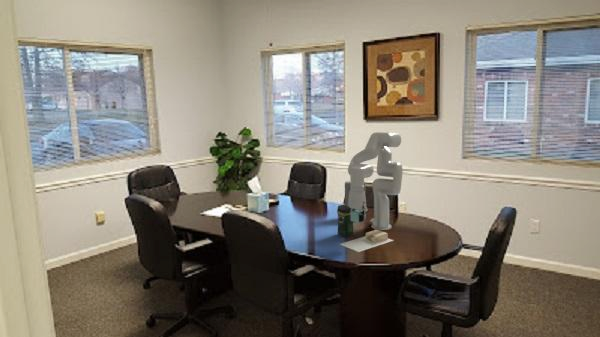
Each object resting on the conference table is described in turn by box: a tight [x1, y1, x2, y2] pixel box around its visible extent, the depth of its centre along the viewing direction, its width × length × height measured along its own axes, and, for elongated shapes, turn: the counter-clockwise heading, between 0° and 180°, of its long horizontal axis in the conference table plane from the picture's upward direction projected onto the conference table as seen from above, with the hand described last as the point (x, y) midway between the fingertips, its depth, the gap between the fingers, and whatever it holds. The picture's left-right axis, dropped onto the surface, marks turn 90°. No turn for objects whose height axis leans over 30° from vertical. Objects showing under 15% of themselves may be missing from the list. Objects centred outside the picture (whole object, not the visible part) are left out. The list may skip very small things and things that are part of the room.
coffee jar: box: [336, 204, 354, 238], centre depth 273 cm, size 10×8×19 cm
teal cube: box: [351, 210, 366, 224], centre depth 253 cm, size 6×6×6 cm
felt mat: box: [339, 235, 395, 253], centre depth 260 cm, size 16×28×1 cm, turn 127°
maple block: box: [365, 229, 389, 243], centre depth 264 cm, size 9×9×4 cm
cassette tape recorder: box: [344, 181, 367, 220], centre depth 307 cm, size 14×6×25 cm, turn 80°
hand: (357, 219), depth 254 cm, fingers closed on teal cube, 5 cm apart
